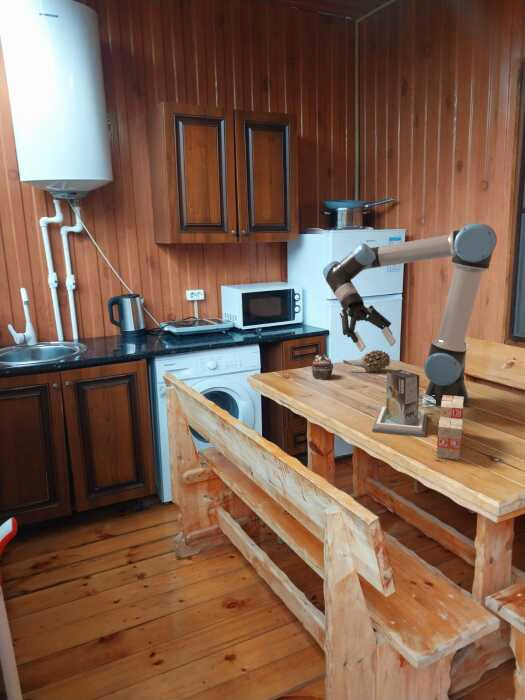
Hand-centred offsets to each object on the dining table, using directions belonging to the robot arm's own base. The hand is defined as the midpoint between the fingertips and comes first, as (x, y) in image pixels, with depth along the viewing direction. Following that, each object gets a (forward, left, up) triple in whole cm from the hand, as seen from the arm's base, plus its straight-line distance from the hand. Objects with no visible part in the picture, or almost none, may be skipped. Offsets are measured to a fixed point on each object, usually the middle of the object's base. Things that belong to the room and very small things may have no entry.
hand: (378, 346), depth 178 cm
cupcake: (+29, -43, -25) cm, 58 cm away
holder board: (-9, +7, -24) cm, 27 cm away
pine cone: (+12, -57, -25) cm, 63 cm away
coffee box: (-9, +7, -23) cm, 26 cm away
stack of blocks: (-24, +21, -25) cm, 40 cm away
